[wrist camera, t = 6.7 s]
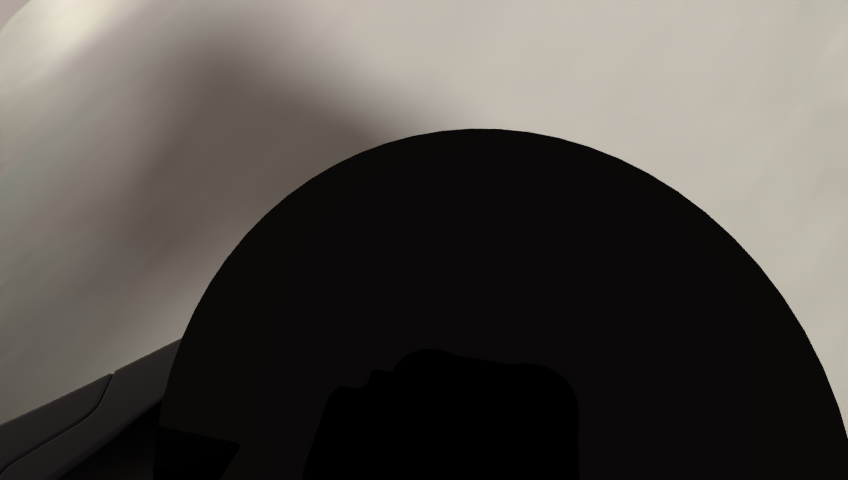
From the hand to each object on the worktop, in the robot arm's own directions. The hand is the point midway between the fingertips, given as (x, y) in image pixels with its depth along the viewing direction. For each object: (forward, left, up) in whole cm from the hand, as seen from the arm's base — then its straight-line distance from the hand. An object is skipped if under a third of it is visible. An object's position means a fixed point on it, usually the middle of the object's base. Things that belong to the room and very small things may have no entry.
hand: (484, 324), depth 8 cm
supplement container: (-1, -1, -7) cm, 7 cm away
